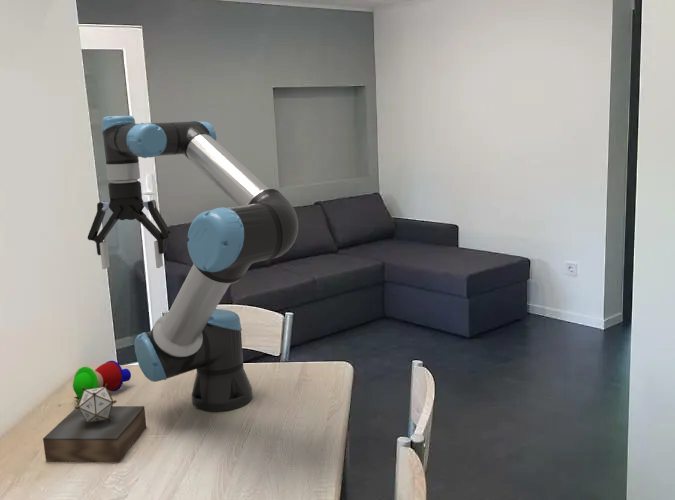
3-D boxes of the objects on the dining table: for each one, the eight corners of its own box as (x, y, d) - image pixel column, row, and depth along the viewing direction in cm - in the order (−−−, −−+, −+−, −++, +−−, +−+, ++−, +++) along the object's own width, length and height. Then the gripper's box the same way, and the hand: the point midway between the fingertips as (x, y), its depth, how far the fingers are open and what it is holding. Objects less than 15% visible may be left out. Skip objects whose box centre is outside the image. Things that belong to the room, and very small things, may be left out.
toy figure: (111, 392, 185) (64, 403, 172) (110, 358, 185) (63, 366, 172) (134, 395, 180) (88, 406, 167) (133, 359, 181) (87, 368, 168)
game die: (103, 440, 148) (99, 417, 141) (69, 425, 149) (63, 401, 142) (126, 407, 154) (123, 383, 147) (93, 392, 155) (88, 369, 148)
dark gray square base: (146, 427, 157) (144, 406, 156) (119, 462, 141) (116, 438, 140) (80, 427, 158) (77, 406, 157) (46, 462, 143) (42, 438, 142)
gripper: (179, 178, 165) (186, 263, 169) (81, 181, 167) (90, 265, 171) (169, 181, 158) (177, 269, 162) (67, 184, 160) (77, 271, 164)
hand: (132, 267), depth 167 cm, fingers open, 13 cm apart
